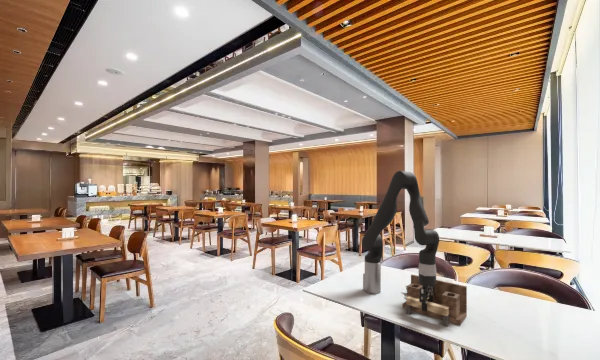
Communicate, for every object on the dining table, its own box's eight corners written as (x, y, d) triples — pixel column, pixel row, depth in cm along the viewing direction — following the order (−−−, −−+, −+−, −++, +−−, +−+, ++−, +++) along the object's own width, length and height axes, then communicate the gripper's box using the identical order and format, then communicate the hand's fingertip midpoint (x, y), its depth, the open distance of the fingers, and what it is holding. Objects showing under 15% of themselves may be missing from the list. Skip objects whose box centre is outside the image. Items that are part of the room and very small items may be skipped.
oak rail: (406, 313, 136) (406, 298, 136) (408, 311, 138) (408, 296, 138) (447, 326, 124) (447, 309, 124) (449, 324, 126) (449, 307, 126)
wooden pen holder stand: (402, 307, 143) (402, 279, 143) (411, 300, 152) (411, 274, 152) (460, 325, 125) (460, 293, 125) (466, 315, 134) (466, 286, 134)
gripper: (424, 268, 139) (424, 301, 139) (413, 274, 128) (413, 310, 128) (440, 271, 134) (440, 305, 134) (430, 278, 123) (431, 315, 123)
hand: (427, 308), depth 131 cm, fingers open, 8 cm apart
